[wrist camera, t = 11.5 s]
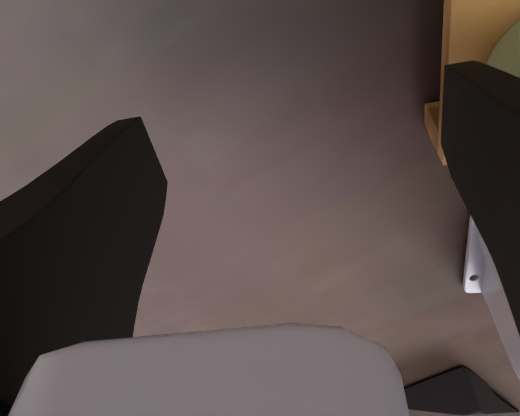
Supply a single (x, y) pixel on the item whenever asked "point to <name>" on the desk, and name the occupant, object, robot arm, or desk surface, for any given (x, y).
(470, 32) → the flat wooden board
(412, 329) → the desk surface
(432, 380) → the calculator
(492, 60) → the green jar
